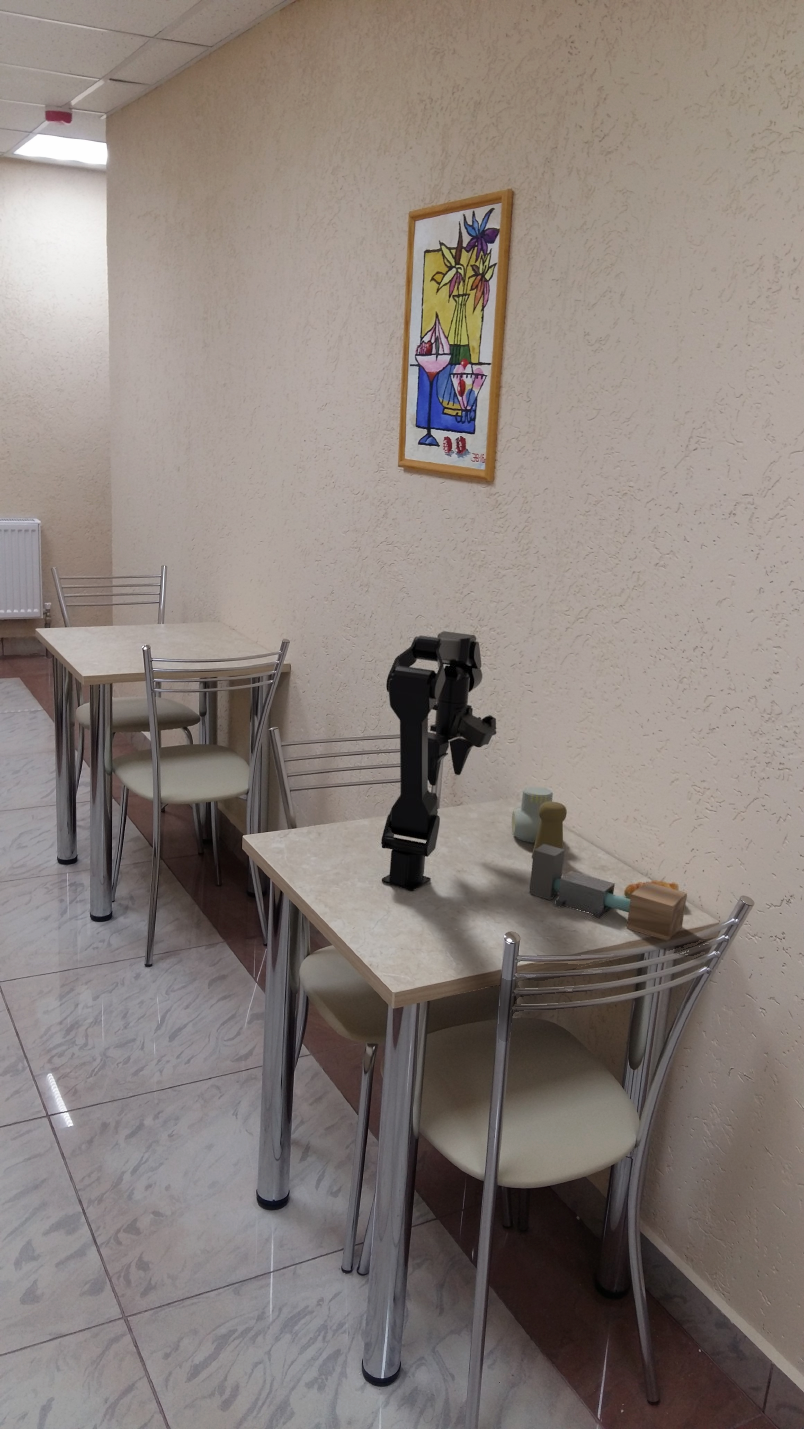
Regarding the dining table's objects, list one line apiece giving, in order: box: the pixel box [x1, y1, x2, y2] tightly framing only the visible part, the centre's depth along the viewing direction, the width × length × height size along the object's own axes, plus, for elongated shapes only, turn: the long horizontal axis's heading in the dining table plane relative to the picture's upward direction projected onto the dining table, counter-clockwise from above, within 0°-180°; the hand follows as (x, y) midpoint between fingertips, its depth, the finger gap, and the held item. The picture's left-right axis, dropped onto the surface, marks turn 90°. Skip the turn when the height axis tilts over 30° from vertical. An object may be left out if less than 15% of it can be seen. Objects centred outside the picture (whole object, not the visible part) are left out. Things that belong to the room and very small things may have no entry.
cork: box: [531, 801, 568, 860], centre depth 208 cm, size 6×6×11 cm
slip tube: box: [528, 844, 630, 914], centre depth 186 cm, size 4×24×8 cm, turn 57°
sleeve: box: [554, 870, 616, 920], centre depth 188 cm, size 6×8×5 cm
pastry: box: [623, 879, 680, 899], centre depth 193 cm, size 9×7×4 cm
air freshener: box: [511, 785, 554, 844], centre depth 218 cm, size 11×8×10 cm
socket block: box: [626, 881, 688, 941], centre depth 181 cm, size 7×7×6 cm
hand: (445, 779), depth 209 cm, fingers open, 9 cm apart
